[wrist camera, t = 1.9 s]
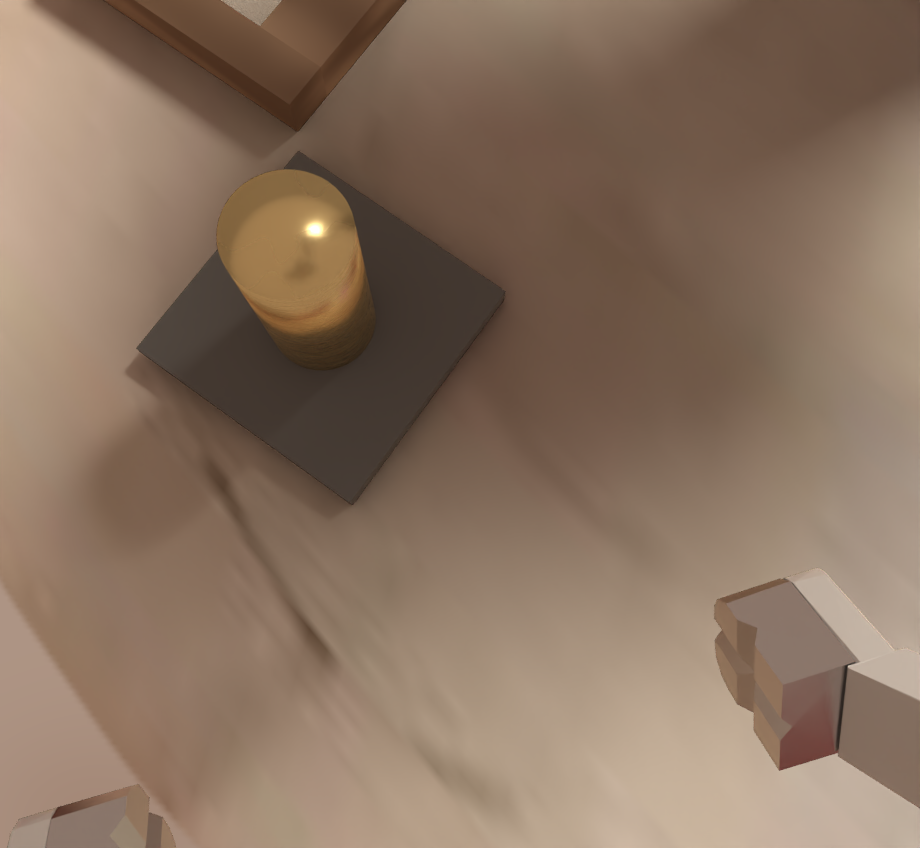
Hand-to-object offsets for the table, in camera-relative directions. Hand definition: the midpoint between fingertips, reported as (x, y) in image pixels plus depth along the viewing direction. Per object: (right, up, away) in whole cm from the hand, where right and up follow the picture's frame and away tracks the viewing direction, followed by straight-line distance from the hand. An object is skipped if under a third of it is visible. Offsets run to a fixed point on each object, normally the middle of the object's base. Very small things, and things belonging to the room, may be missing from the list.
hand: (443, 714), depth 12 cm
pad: (-5, +8, +22) cm, 24 cm away
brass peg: (-5, +8, +21) cm, 23 cm away
